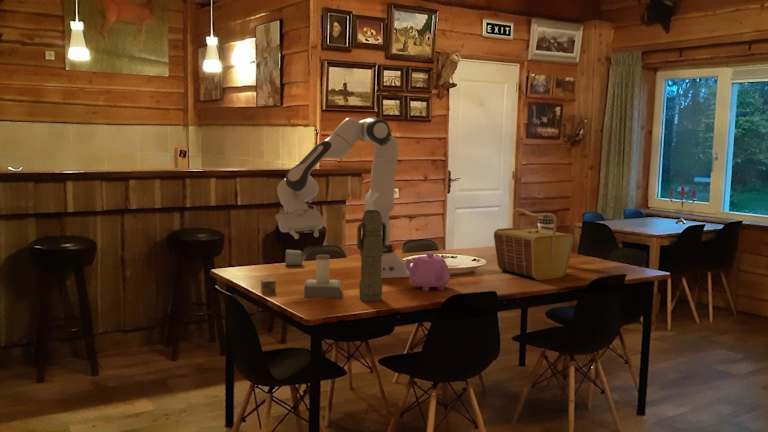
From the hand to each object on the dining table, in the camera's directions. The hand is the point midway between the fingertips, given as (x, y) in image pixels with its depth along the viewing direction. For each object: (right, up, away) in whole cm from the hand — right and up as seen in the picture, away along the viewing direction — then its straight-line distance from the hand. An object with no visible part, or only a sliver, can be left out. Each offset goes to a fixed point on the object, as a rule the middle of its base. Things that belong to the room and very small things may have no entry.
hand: (307, 236), depth 305 cm
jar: (+8, -18, -14) cm, 24 cm away
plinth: (+8, -22, -13) cm, 27 cm away
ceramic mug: (-12, -15, +47) cm, 51 cm away
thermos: (+27, -24, -22) cm, 43 cm away
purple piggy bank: (+51, -22, -1) cm, 56 cm away
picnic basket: (+102, -19, +36) cm, 110 cm away
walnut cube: (-14, -22, -13) cm, 29 cm away
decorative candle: (+115, -16, +65) cm, 133 cm away
